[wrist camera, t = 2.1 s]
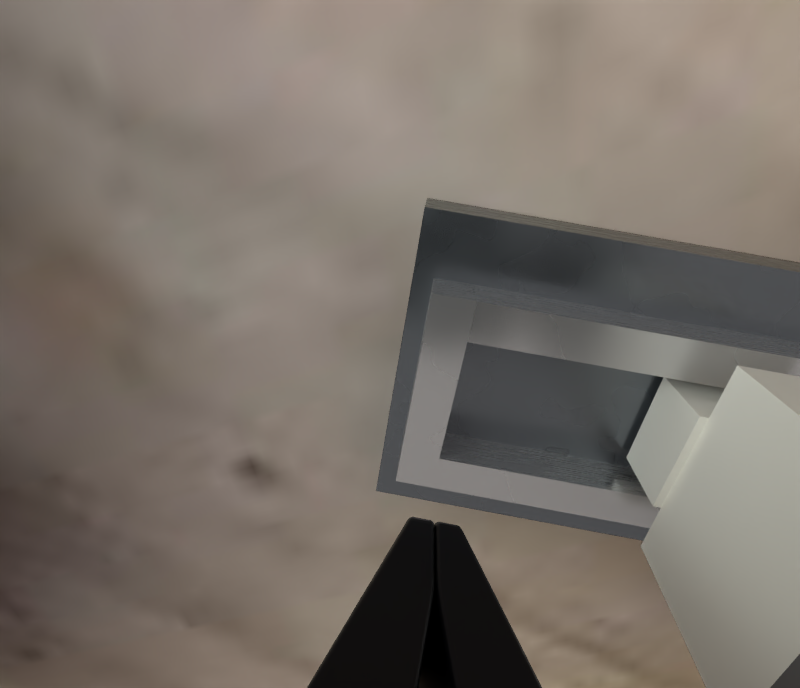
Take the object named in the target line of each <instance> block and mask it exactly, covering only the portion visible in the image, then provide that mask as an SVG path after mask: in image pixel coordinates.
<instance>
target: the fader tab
mask: <svg viewBox="0 0 800 688" xmlns="http://www.w3.org/2000/svg"><path fill="white" fill-rule="evenodd" d="M626 458H627V460H628V462H629V464H630V465H631V467H632V469H633V471H634V473H635V475H636V476H637V478H638V480H639V482H640V484H641V486H642V487H643V489H644V491H645V493H646V495H647V497H648V498H649V500H650V502H651V504H652V506H654V507H660V508H661V509H660V511H659V512H658V514H657V516H656V518H655V520H654V522H653V524H652V526H651V527H650V529H649V531H648V533H647V535H646V537H645V539H644V540H643V542H642V544H641V548H642V550H643V552H644V555H645V557H646V559H647V561H648V563H649V565H650V568H651V570H652V572H653V574H654V576H655V578H656V581H657V583H658V585H659V587H660V589H661V591H662V594H663V596H664V598H665V600H666V602H667V604H668V606H669V609H670V611H671V613H672V615H673V617H674V619H675V622H676V624H677V626H678V628H679V630H680V632H681V635H682V637H683V639H684V641H685V643H686V645H687V648H688V650H689V652H690V654H691V656H692V658H693V661H694V663H695V665H696V667H697V669H698V671H699V673H700V676H701V678H702V680H703V682H704V684H705V686H706V688H800V376H794V375H788V374H783V373H777V372H772V371H766V370H760V369H755V368H749V367H744V366H738V365H737V367H736V369H735V371H734V373H733V374H732V376H731V378H730V380H729V382H728V384H727V386H726V388H720V387H714V386H709V385H703V384H698V383H692V382H687V381H681V380H675V379H670V378H664V377H663V379H662V382H661V384H660V386H659V388H658V390H657V392H656V395H655V397H654V399H653V401H652V403H651V405H650V408H649V410H648V412H647V414H646V416H645V418H644V421H643V423H642V425H641V427H640V429H639V431H638V433H637V436H636V438H635V440H634V442H633V444H632V446H631V449H630V451H629V453H628V455H627V457H626Z"/></svg>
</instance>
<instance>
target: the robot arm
mask: <svg viewBox="0 0 800 688" xmlns="http://www.w3.org/2000/svg"><path fill="white" fill-rule="evenodd" d="M307 688H542V687H541V685H540V683H539V681H538V679H537V677H536V675H535V673H534V671H533V669H532V667H531V665H530V663H529V661H528V659H527V657H526V655H525V653H524V651H523V649H522V647H521V645H520V643H519V641H518V639H517V637H516V635H515V633H514V631H513V629H512V627H511V625H510V623H509V622H508V620H507V618H506V616H505V614H504V612H503V610H502V608H501V606H500V604H499V602H498V600H497V598H496V596H495V594H494V592H493V590H492V588H491V586H490V584H489V582H488V580H487V578H486V576H485V574H484V572H483V570H482V568H481V566H480V564H479V562H478V560H477V558H476V556H475V554H474V552H473V550H472V548H471V546H470V545H469V543H468V541H467V539H466V537H465V535H464V533H463V531H462V529H461V528H460V527H459V526H457V525H452V524H447V523H442V522H437V523H435V525H434V523H433V522H432V521H431V520H426V519H421V518H415V517H411V518H409V519H408V520H407V522H406V524H405V525H404V527H403V529H402V530H401V532H400V534H399V535H398V537H397V539H396V540H395V542H394V544H393V545H392V547H391V549H390V550H389V552H388V554H387V555H386V557H385V559H384V560H383V562H382V564H381V565H380V567H379V569H378V570H377V572H376V574H375V575H374V577H373V579H372V580H371V582H370V584H369V585H368V587H367V589H366V590H365V592H364V594H363V595H362V597H361V599H360V600H359V602H358V604H357V605H356V607H355V609H354V610H353V612H352V614H351V615H350V617H349V619H348V620H347V622H346V624H345V625H344V627H343V629H342V630H341V632H340V634H339V635H338V637H337V639H336V640H335V642H334V644H333V645H332V647H331V649H330V650H329V652H328V654H327V655H326V657H325V659H324V660H323V662H322V664H321V665H320V667H319V669H318V670H317V672H316V674H315V676H314V677H313V679H312V681H311V682H310V684H309V686H308V687H307Z"/></svg>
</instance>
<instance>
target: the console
mask: <svg viewBox="0 0 800 688" xmlns="http://www.w3.org/2000/svg"><path fill="white" fill-rule="evenodd" d="M737 365H738V366H744V367H749V368H755V369H760V370H766V371H772V372H777V373H783V374H788V375H794V376H800V263H798V262H792V261H787V260H781V259H775V258H769V257H764V256H758V255H752V254H746V253H741V252H735V251H729V250H723V249H718V248H712V247H706V246H700V245H694V244H689V243H683V242H677V241H671V240H666V239H660V238H654V237H648V236H643V235H637V234H631V233H625V232H620V231H614V230H608V229H602V228H597V227H591V226H585V225H579V224H574V223H568V222H562V221H556V220H550V219H545V218H539V217H533V216H527V215H522V214H516V213H510V212H504V211H499V210H493V209H487V208H481V207H476V206H470V205H464V204H458V203H453V202H447V201H441V200H435V199H430V198H427V202H426V205H425V209H424V215H423V221H422V227H421V233H420V238H419V244H418V250H417V256H416V262H415V267H414V273H413V279H412V285H411V291H410V297H409V302H408V308H407V314H406V320H405V326H404V331H403V337H402V343H401V349H400V355H399V361H398V366H397V372H396V378H395V384H394V390H393V395H392V401H391V407H390V413H389V419H388V425H387V430H386V436H385V442H384V448H383V454H382V459H381V465H380V471H379V477H378V483H377V489H376V491H380V492H385V493H391V494H396V495H401V496H407V497H412V498H417V499H423V500H428V501H433V502H439V503H444V504H450V505H455V506H460V507H466V508H471V509H476V510H482V511H487V512H492V513H498V514H503V515H508V516H514V517H519V518H524V519H530V520H535V521H541V522H546V523H551V524H557V525H562V526H567V527H573V528H578V529H583V530H589V531H594V532H599V533H605V534H610V535H615V536H621V537H626V538H632V539H637V540H642V541H643V540H644V539H645V537H646V535H647V533H648V531H649V529H650V527H651V526H652V524H653V522H654V520H655V518H656V516H657V514H658V512H659V511H660V509H661V508H660V507H654V506H652V504H651V502H650V500H649V498H648V497H647V495H646V493H645V491H644V489H643V487H642V486H641V484H640V482H639V480H638V478H637V476H636V475H635V473H634V471H633V469H632V467H631V465H630V464H629V462H628V460H627V458H626V457H627V455H628V453H629V451H630V449H631V446H632V444H633V442H634V440H635V438H636V436H637V433H638V431H639V429H640V427H641V425H642V423H643V421H644V418H645V416H646V414H647V412H648V410H649V408H650V405H651V403H652V401H653V399H654V397H655V395H656V392H657V390H658V388H659V386H660V384H661V382H662V379H663V377H664V378H670V379H675V380H681V381H687V382H692V383H698V384H703V385H709V386H714V387H720V388H726V386H727V384H728V382H729V380H730V378H731V376H732V374H733V373H734V371H735V369H736V367H737Z"/></svg>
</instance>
